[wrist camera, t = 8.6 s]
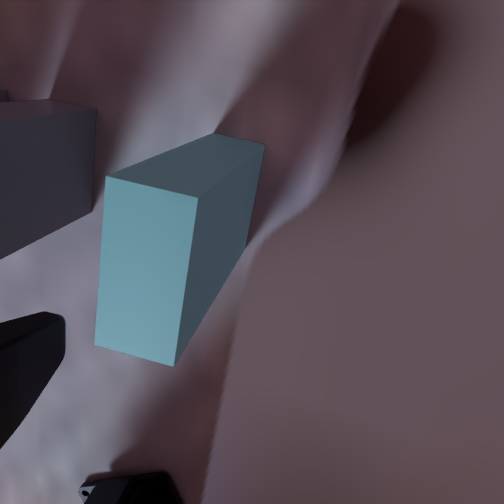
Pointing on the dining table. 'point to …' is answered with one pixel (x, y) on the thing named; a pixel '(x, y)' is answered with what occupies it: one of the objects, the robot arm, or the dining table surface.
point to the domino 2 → (172, 242)
